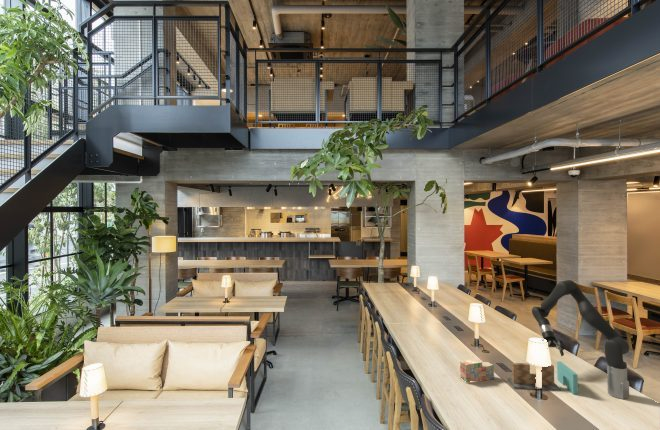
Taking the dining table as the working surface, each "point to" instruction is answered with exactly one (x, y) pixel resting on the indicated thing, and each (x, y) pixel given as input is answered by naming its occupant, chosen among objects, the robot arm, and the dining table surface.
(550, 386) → the halving stand
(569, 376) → the teal plate
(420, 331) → the dining table surface
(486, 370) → the stack of blocks
